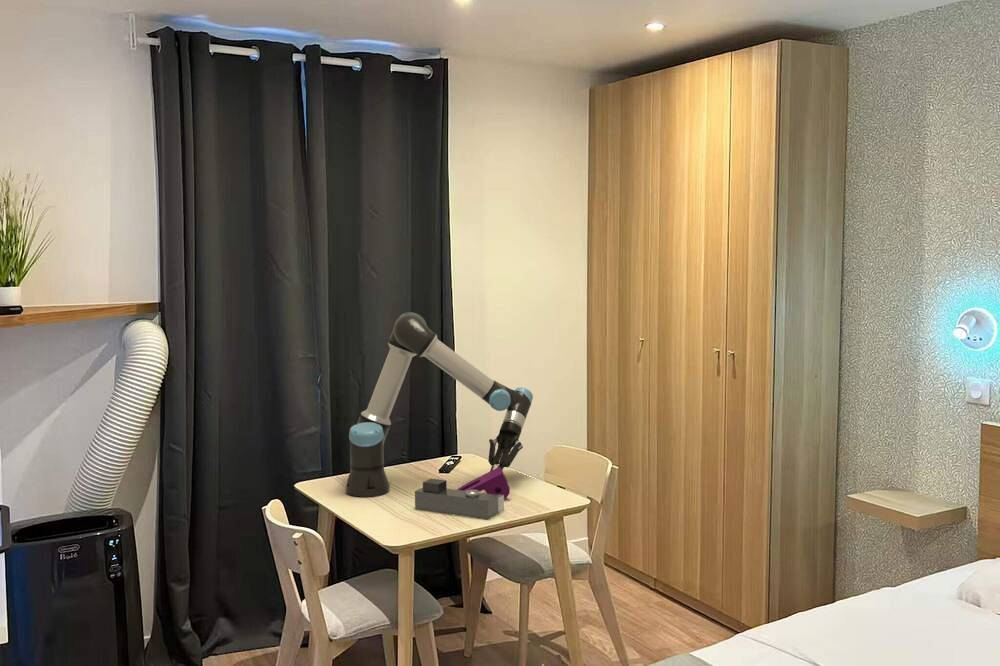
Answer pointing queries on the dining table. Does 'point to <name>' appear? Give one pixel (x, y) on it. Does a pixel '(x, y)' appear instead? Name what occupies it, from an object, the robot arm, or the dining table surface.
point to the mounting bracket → (489, 483)
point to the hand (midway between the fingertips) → (491, 482)
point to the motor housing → (457, 500)
